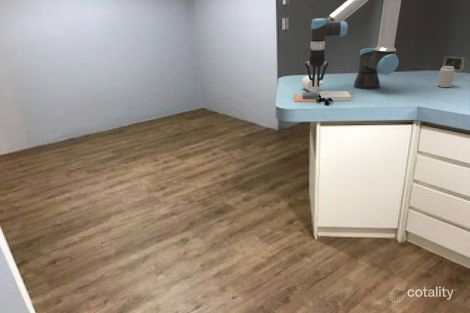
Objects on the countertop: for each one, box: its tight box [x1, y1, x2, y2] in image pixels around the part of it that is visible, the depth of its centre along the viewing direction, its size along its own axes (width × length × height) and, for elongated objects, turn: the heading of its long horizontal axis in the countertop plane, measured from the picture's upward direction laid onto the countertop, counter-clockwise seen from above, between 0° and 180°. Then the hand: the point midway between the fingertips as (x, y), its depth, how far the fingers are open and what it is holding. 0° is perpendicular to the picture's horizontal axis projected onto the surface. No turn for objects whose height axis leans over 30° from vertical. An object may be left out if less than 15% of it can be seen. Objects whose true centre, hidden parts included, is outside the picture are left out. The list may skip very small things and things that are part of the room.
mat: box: [293, 94, 316, 103], centre depth 210 cm, size 14×14×1 cm
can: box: [437, 65, 456, 88], centre depth 219 cm, size 8×8×12 cm
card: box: [301, 92, 319, 99], centre depth 209 cm, size 9×6×2 cm, turn 83°
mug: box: [301, 75, 325, 93], centre depth 226 cm, size 12×10×8 cm
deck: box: [318, 90, 352, 102], centre depth 207 cm, size 16×12×2 cm
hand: (315, 92), depth 208 cm, fingers closed
